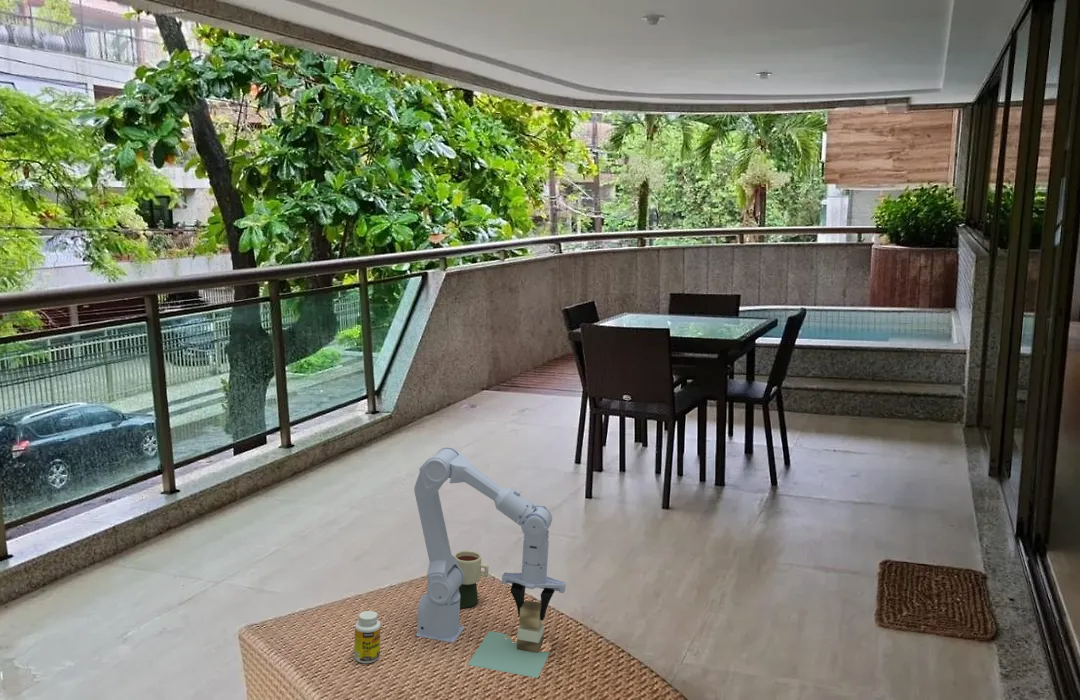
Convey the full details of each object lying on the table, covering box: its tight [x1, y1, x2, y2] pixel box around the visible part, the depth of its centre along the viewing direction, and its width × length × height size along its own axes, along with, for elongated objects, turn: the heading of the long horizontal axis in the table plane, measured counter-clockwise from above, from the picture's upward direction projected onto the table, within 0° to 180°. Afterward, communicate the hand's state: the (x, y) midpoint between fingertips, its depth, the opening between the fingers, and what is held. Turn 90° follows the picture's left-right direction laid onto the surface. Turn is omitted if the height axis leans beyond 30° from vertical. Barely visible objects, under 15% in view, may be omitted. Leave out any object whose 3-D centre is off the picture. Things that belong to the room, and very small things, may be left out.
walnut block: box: [517, 632, 545, 653], centre depth 195 cm, size 5×5×2 cm
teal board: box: [467, 630, 551, 679], centre depth 191 cm, size 16×16×1 cm
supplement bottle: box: [353, 610, 382, 664], centre depth 186 cm, size 6×6×10 cm
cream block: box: [516, 621, 545, 643], centre depth 194 cm, size 5×5×2 cm
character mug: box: [453, 549, 489, 608], centre depth 214 cm, size 11×7×13 cm, turn 82°
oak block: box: [518, 599, 544, 628], centre depth 193 cm, size 4×4×4 cm
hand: (531, 616), depth 194 cm, fingers closed on oak block, 4 cm apart
